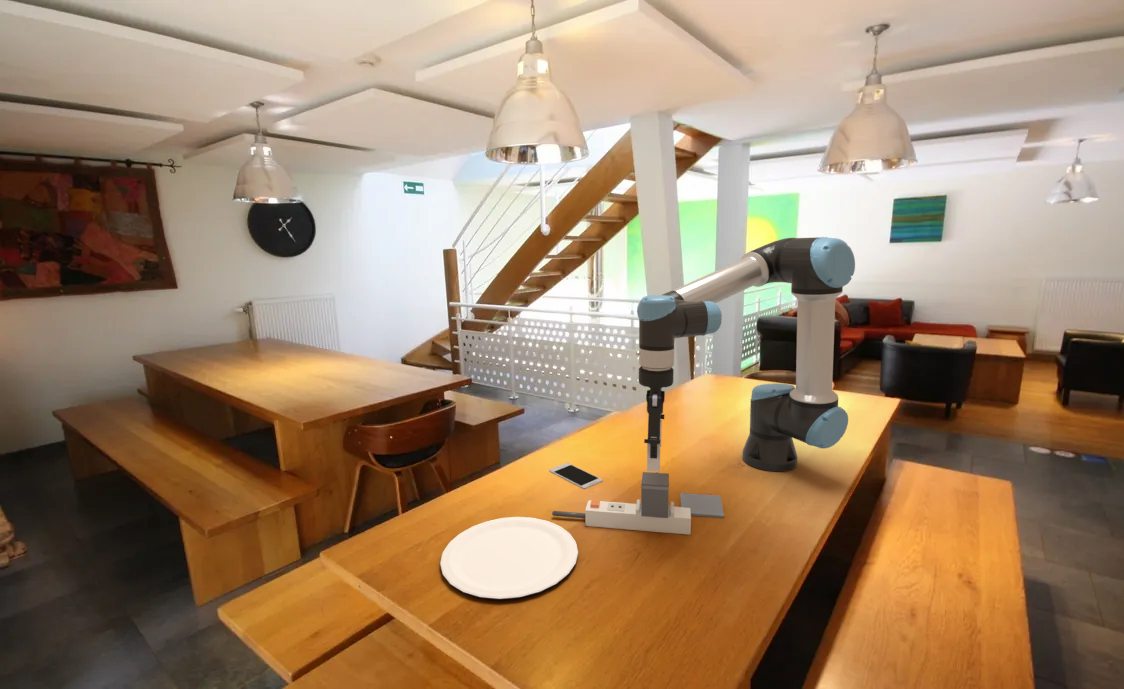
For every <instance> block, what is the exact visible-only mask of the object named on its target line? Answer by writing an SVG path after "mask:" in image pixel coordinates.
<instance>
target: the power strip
mask: <svg viewBox="0 0 1124 689" xmlns="http://www.w3.org/2000/svg"><path fill="white" fill-rule="evenodd" d="M551 515H552V516H554V517H563V518H564V517H565V518H572V519H573V518H575V519H585V527H595V528H604V529H605V528H608V529H615V530H616V529H619V530H628V531H629V530H631V531H632V530H633V531H641V532H642V531H643V532H654V533H664V534H679V535H690V536H691V535H692V534H691V532H692V531H691V530H692V528H691V526H692V525H691V524H692V516H691V512H690V508H685V507H681V506H675V502H674V501H670V505H668V518H659V517H646V516H641V498H640V499H636V503H629V502H616V501H615V502H614V501H604V500H602V501H601V500H587V504H586V507H585V511H584V512H575V511H573V512H572V511H561V510H553V511H551Z"/></svg>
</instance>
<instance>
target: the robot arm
mask: <svg viewBox="0 0 1124 689" xmlns="http://www.w3.org/2000/svg"><path fill="white" fill-rule="evenodd" d="M855 271H856V260H855V255H854V251H853V250H852V247H850V245H848V243H847V242H846V241H844V240H843V239H840V238H835V237H827V236H825V237H824V236H821V237H820V236H819V237H786V238H781V239H778V240H775V241H772V242H769V243H767V244H764V245H762V246H759V247H757V248H755V249H753V250H751V251H748V252H746V253H744V254H743V255H742V257H741V259H739V260H737V261H735V262H733V263H731V264H729V265H727V266H723V267H722V268H720V269H717V270H716V271H713V272H711V273H708V274H706V275H703V276H702V277H700V278H697V279H695V280H693V281H690V282H688V283H686V284H684V285H681V286H680V287H677V288H675V289H672V290H670V291H668V292H665V293H662V294H661V295H660V294H659V295H658V294H657V295H656V294H653V295H652V294H651V295H645V296H643V297H642V298H641V300H640V301H639V302H638V305H637V307H636V313H637V317H638V344H639V345H638V347H639V348H638V349H639V351H636V353H635V354H636V356H638V357H639V358H638V359H639V360H638V365H639V366H640V367H639V368H638V383H639V385H641V386H642V387H645V388H649V390H646V396H645V397H646V398H645V400H646V413H647V414H648V423H647V438H645V439H644V444H647V446H646V448H647V450H646V453H647V454H646V472H654V473H661V472H660V471H661V447H662V422H663V421H662V420H665V414H664V403H665V398H666V397H665V395H666V394H665V392H666V391H665V390H662V389H663V388H669V387H671V386H673V384H674V371H675V370H674V368H673V366H674V365H675V341H676V339H679V338H680V339H681V338H688V337H698V336H702V337H704V336H706V335H711V334H715V333H716V332H717V331H718V330H719V329H720V327H721V325H722V319H723V318H722V316H723V315H722V311H721V309H720V307H719V305H718V304H717V303H719V302H721V301H724V300H725V299H728V298H729V297H731V296H735V295H736V294H738V293H741V292H742V291H745V290H746V289H747V290H748V289H749V288H751V287H755V288H759V287H763V286H764V285H767V284H773V283H784V284H785V283H786V284H791V285H790V286H791V288H790V291H791V292H790V293H791V294H792V295H793V296H794V297H795V298H796V300H797V309H796V310H797V312H796V314H797V316H796V318H797V319H796V360H795V362H796V363H795V364H796V366H795V367H796V368H795V369H796V370H795V386H794V385H792V384H789V383H780V382H779V383H777V382H775V383H763V384H758V385H756V386H754V387H753V388H752V390H751V396H750V397H751V398H750V408H749V410H750V412H749V417H750V418H749V434H748V437H747V439H746V442H745V444H744V447H743V448H742V456H741V457H742V458H741V459H742V461H744V463H745V464H747V465H748V466H750V467H752V468H756V469H758V470H762V471H768V472H787V471H792V470H795V468H796V467H797V466H798V461H799V460H798V454H797V451H796V446H795V443H794V441H793V439H794V440H797V441H800V442H801V443H802V442H803V443H805V444H807V445H808V446H812V447H816V448H819V449H829V448H832V447H834V446H835V445H836V444H837V443H839V441H840V440H841V438H843V436H844V434H846V430H847V428H848V425H849V416H848V413H847V412H846V410H845V409H844V408H843V407H841V406H839V395H838V393H836V392H835V390H833V377H834V376H833V375H834V373H833V372H834V350H835V349H834V348H835V347H834V345H835V322H836V321H835V320H836V319H835V317H836V314H835V313H836V299H838V297H839V296H840V295H841V294H843V288H844V287H845V286H846V285H848V284H849V283H850V282H851V280H852V276H854V274H855Z"/></svg>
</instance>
